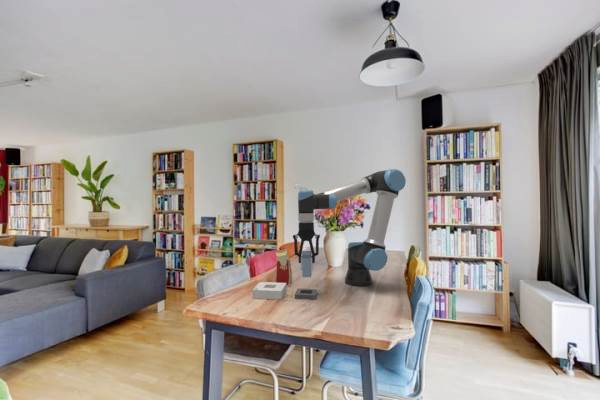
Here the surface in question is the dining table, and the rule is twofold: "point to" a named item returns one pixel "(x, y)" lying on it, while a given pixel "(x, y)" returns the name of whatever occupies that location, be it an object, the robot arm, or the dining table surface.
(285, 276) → the milk carton
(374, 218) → the robot arm
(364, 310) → the dining table surface
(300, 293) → the dark grey square base
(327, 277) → the dining table surface
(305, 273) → the plug
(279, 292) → the port
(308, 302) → the dining table surface
